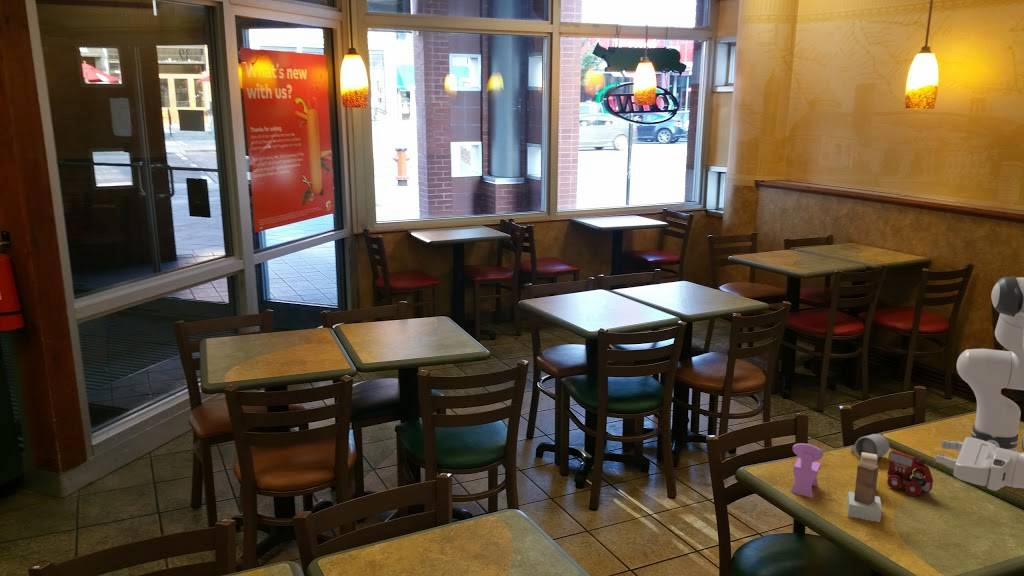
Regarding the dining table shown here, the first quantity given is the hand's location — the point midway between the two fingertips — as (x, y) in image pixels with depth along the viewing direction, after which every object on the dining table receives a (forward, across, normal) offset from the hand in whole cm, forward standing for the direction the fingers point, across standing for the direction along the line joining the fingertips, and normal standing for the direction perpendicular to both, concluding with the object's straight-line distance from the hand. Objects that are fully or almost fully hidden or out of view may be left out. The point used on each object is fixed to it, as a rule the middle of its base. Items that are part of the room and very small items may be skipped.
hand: (939, 450), depth 201 cm
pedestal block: (+15, +5, +22) cm, 27 cm away
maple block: (+18, -11, +22) cm, 31 cm away
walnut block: (+15, +5, +18) cm, 24 cm away
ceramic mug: (+23, -34, +24) cm, 47 cm away
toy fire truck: (+8, -18, +23) cm, 30 cm away
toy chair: (+32, +1, +22) cm, 39 cm away
